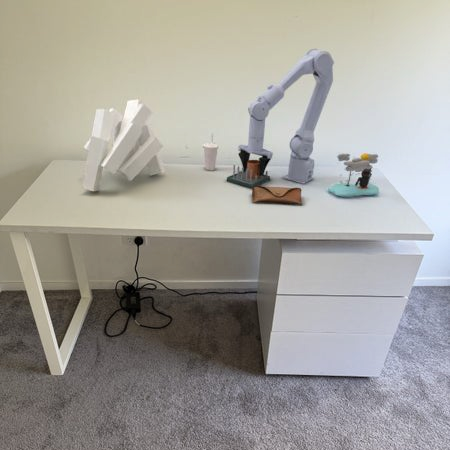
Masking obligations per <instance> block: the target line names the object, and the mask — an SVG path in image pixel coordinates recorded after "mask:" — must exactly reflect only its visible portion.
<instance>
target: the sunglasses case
mask: <svg viewBox="0 0 450 450" xmlns="http://www.w3.org/2000/svg"><path fill="white" fill-rule="evenodd" d="M251 190H252V191H251V201H252V203H254V204H255V203H256V204H257V203H260V204H261V203H263V204H275V205H276V204H278V205H287V206H288V205H289V206H290V205H294V206H295V205H303V201H302V188H301V187H284V186H267V185H265V186H264V185H256V186H254V187H253V189H251Z"/></svg>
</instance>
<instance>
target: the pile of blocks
mask: <svg viewBox="0 0 450 450" xmlns="http://www.w3.org/2000/svg"><path fill="white" fill-rule="evenodd" d="M153 114H154V113H153V111H152V110H151V109H150V108H149V107H147V106H146V105H145V104H144V103H143V102H142V101H141V100H140V98H139V99H131V100H127V103H126V106H125V110H124V114H123V115H122V114H120V112H119V111H117V110H116V109H115V108H113V107H111V108H110V109H106V108H96V109H95V114H94V120H93V124H92V125H93V126H92V131H91V135H90V137H89V139H88V141H87V142H86V143H85V145H84V146H83V149H84V150H86V151H87V156H86V162H85V167H84V172H83V173H84V174H83V179H82V184H81V189H84V190H87V191H91V192H99V189H100V185H101V180H102V173H103V169H105V170H106V171H107V172H108V173H110V174H112V175H115V174H116V173H121V175H122V176H123V177H124V179H126V180H128V181H132V180H133V179H134V178H135V177H136V176H137V175H138V174H139V173H140V172H141V171H142V169H144V167H145V166H146V168H147V172H148V175H149V176H154V175H158V174H161V173H165V172H166V169H165V166H164V164H163V160H162V157H161V153H160V150H161V149H162V148H163V147H164V146H163V144H162V143H161V142H160V140H159V139H158V137H156V136H155V133H154V132H155V131H154V129H153V126H152V124H147V122H148V120H149V118H150V117H151V116H152V115H153ZM112 134H113V135H112ZM111 135H112V144H111V149H110V150H109V144H110V141H111ZM108 150H109V152H108Z"/></svg>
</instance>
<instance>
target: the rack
mask: <svg viewBox="0 0 450 450" xmlns="http://www.w3.org/2000/svg"><path fill="white" fill-rule="evenodd" d="M232 170H233V171H232V174H231V175H229V176H227V177H226V182H227V183H231V184H234V185H238V186H241V187H244V188H247V189H251V190H253V187H254V186H256V185H259V186H262V185H263V184H265V183H267V182H269V181H271V175H268V173H269V171H268V170H265V173H264V175H262V176H260V178H259V179H257V176H255V179H252V170H251V174H250V179H248V178H247V176H248V169H246V171H245V172H244V171H243V170H244V168H243V166H241V170H240V166H239V165H238V166H237V172H236V165H235V164H233V169H232Z"/></svg>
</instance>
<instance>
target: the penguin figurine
mask: <svg viewBox="0 0 450 450" xmlns="http://www.w3.org/2000/svg"><path fill="white" fill-rule="evenodd" d="M336 157H337V159H338V162H343V161H344V162H343V165H344V166H346V167H345V168H344V169H343V170H345V171H346V172H349V174H348V179H346V182H340V183H336V184H333V185H330V186H328V187H327V191H329V192H330V193H331V194H334V195H336V196H339V197H345V198H348V197H357V196H374V195H377V194H380V190H379V187H378V186H377V185H375V184H373V183H370V180H371V178H372V175H373V173H372V172H373V170H372V169H373V165H372V164H377V163H378V158H379V155H378V154H377V153H376V154H375V153H367V152H365V153H362V154H361V156H360V157H354V158H352V159H350V158H351V154H350V153H338V154H337V156H336ZM354 172H355V173H357V176H359V177H358V178H357V180H356V182H355V183H350V182H351V181H352V180H351V176H353V175H355V173H354ZM339 176H340V177H341V176H342V174H339Z"/></svg>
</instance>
